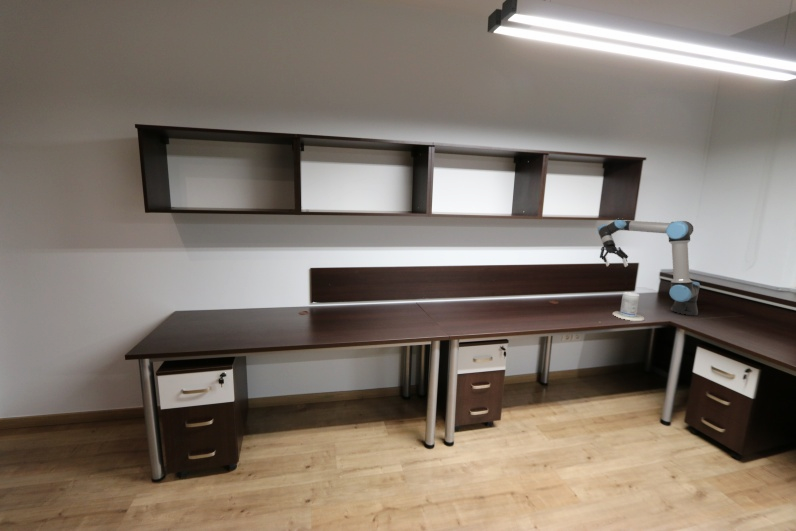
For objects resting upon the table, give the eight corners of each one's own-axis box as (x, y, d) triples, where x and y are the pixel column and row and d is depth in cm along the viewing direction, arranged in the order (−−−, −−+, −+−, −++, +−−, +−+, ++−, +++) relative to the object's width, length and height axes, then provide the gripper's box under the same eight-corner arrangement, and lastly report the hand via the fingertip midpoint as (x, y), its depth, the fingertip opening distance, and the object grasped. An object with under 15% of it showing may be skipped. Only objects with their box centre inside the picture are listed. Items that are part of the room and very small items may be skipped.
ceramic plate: (625, 312, 259) (625, 310, 258) (650, 320, 242) (650, 318, 242) (606, 314, 252) (606, 312, 252) (631, 322, 236) (631, 320, 235)
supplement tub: (623, 311, 254) (626, 291, 251) (638, 315, 246) (642, 294, 244) (617, 314, 248) (620, 293, 245) (633, 318, 240) (636, 296, 238)
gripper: (621, 246, 285) (631, 269, 273) (589, 245, 285) (598, 268, 273) (627, 240, 279) (637, 263, 267) (594, 239, 278) (603, 262, 266)
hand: (617, 265), depth 270 cm, fingers open, 13 cm apart
